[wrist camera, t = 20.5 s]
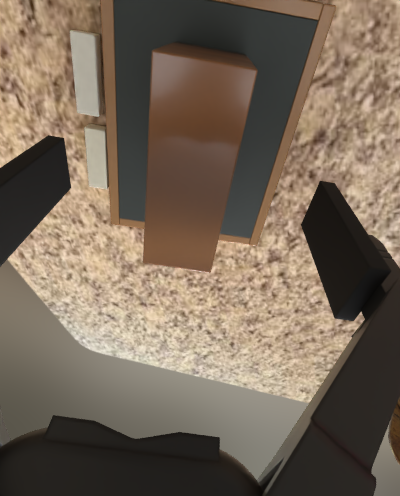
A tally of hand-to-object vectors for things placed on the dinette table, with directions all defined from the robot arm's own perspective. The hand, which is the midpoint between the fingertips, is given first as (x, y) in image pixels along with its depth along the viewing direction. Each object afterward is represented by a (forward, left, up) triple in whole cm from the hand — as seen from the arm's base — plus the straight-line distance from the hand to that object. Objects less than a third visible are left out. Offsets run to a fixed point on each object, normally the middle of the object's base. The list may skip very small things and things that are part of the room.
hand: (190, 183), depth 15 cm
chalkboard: (0, 0, -10) cm, 10 cm away
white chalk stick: (+3, -7, -9) cm, 12 cm away
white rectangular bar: (-3, -8, -9) cm, 12 cm away
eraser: (0, 0, -9) cm, 9 cm away
